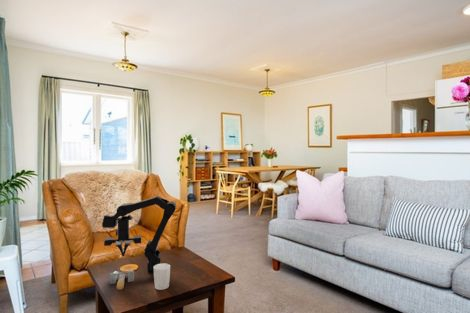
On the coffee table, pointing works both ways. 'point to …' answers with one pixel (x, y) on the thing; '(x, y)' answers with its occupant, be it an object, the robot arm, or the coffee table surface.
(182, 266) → the coffee table surface
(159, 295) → the coffee table surface
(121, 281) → the white elongated bar
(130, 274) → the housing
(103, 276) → the coffee table surface
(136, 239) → the robot arm
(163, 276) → the white cup
